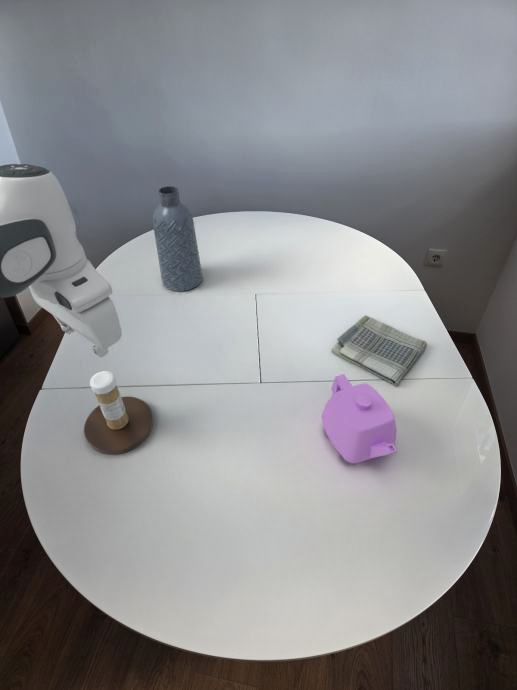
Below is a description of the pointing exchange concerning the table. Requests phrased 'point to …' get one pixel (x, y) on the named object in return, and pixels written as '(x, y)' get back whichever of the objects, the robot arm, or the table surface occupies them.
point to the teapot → (359, 421)
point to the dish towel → (379, 349)
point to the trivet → (122, 438)
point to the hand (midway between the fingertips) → (85, 342)
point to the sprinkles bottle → (109, 399)
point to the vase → (176, 242)
